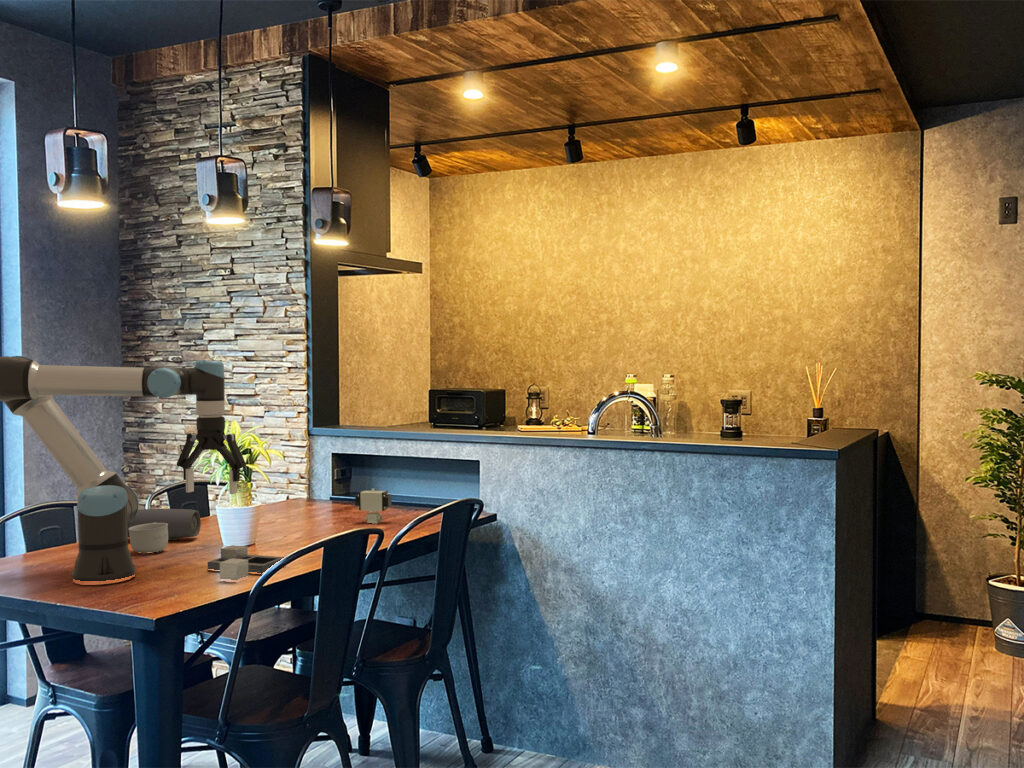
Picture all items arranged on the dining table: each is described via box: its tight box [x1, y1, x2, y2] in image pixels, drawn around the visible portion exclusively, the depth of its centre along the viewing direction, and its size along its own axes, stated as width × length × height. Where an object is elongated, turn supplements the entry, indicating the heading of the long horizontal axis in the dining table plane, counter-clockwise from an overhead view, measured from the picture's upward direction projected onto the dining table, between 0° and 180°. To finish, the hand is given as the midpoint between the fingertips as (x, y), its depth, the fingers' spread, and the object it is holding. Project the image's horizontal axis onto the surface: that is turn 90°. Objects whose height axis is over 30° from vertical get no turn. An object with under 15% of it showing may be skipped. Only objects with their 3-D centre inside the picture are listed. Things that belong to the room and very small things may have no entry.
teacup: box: [128, 522, 169, 553], centre depth 273 cm, size 14×11×8 cm
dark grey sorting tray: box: [207, 544, 285, 574], centre depth 248 cm, size 11×17×6 cm, turn 71°
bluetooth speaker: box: [128, 508, 202, 541], centre depth 290 cm, size 23×9×10 cm, turn 89°
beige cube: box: [219, 558, 249, 580], centre depth 235 cm, size 5×5×5 cm
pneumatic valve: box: [354, 488, 393, 525], centre depth 317 cm, size 6×12×12 cm, turn 80°
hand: (211, 492), depth 256 cm, fingers open, 13 cm apart
